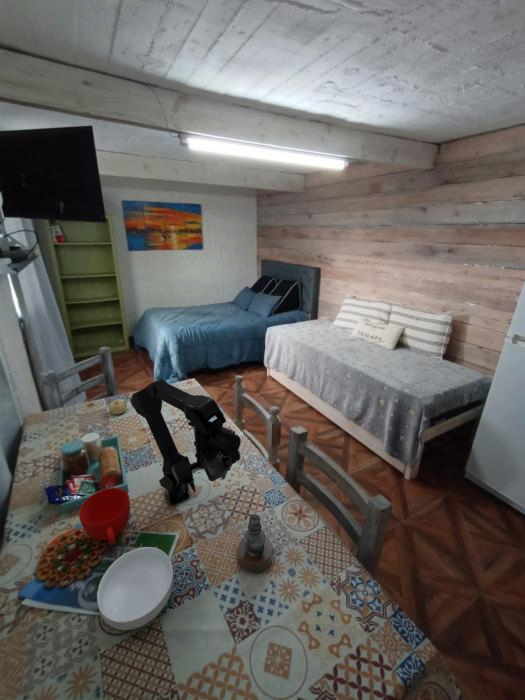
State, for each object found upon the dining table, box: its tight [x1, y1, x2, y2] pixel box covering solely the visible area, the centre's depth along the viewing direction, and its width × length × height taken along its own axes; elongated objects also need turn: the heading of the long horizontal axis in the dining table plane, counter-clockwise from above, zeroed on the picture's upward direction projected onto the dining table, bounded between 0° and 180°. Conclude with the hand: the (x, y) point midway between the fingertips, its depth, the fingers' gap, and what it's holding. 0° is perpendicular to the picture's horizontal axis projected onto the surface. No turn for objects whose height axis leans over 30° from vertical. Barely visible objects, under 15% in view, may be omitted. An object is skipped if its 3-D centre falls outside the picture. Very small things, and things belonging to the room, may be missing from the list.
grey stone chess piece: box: [243, 513, 267, 557], centre depth 83 cm, size 6×6×12 cm
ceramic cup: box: [78, 487, 131, 545], centre depth 90 cm, size 13×17×10 cm
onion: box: [108, 398, 128, 415], centre depth 152 cm, size 8×8×7 cm
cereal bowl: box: [96, 546, 175, 631], centre depth 75 cm, size 17×17×7 cm
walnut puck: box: [238, 535, 273, 574], centre depth 86 cm, size 9×9×4 cm
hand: (208, 484), depth 93 cm, fingers open, 9 cm apart
